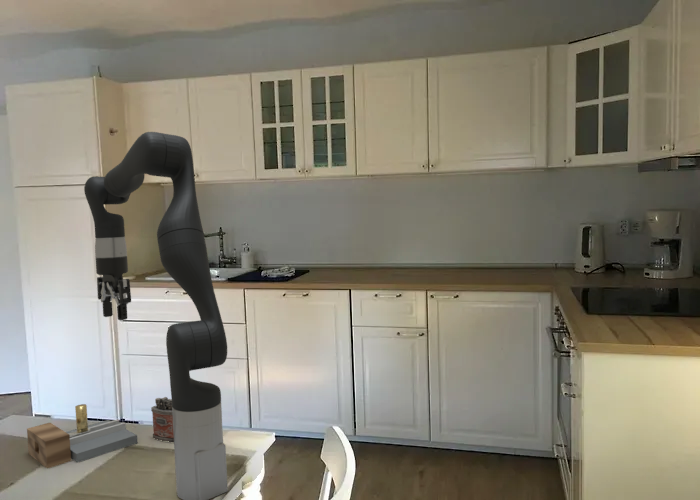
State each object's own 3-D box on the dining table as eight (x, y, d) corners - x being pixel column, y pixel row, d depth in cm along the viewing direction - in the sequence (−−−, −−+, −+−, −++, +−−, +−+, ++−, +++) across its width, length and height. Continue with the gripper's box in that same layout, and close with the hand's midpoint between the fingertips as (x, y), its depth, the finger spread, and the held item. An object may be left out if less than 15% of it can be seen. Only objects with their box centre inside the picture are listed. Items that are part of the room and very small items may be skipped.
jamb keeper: (71, 460, 129) (69, 434, 129) (47, 468, 126) (45, 441, 125) (51, 447, 138) (50, 422, 137) (28, 453, 134) (26, 428, 134)
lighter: (149, 438, 141) (147, 398, 140) (160, 433, 144) (157, 394, 143) (174, 443, 137) (171, 402, 136) (184, 438, 140) (182, 398, 139)
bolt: (91, 436, 137) (89, 405, 137) (51, 448, 131) (48, 415, 130) (87, 434, 139) (85, 403, 138) (47, 446, 132) (44, 413, 132)
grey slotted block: (137, 443, 138) (136, 428, 138) (77, 462, 128) (76, 447, 128) (108, 427, 149) (107, 414, 149) (50, 444, 139) (49, 430, 139)
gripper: (138, 254, 146) (142, 318, 147) (113, 253, 156) (117, 313, 157) (108, 257, 140) (112, 323, 141) (85, 255, 150) (89, 317, 151)
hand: (115, 318), depth 149 cm, fingers open, 8 cm apart
